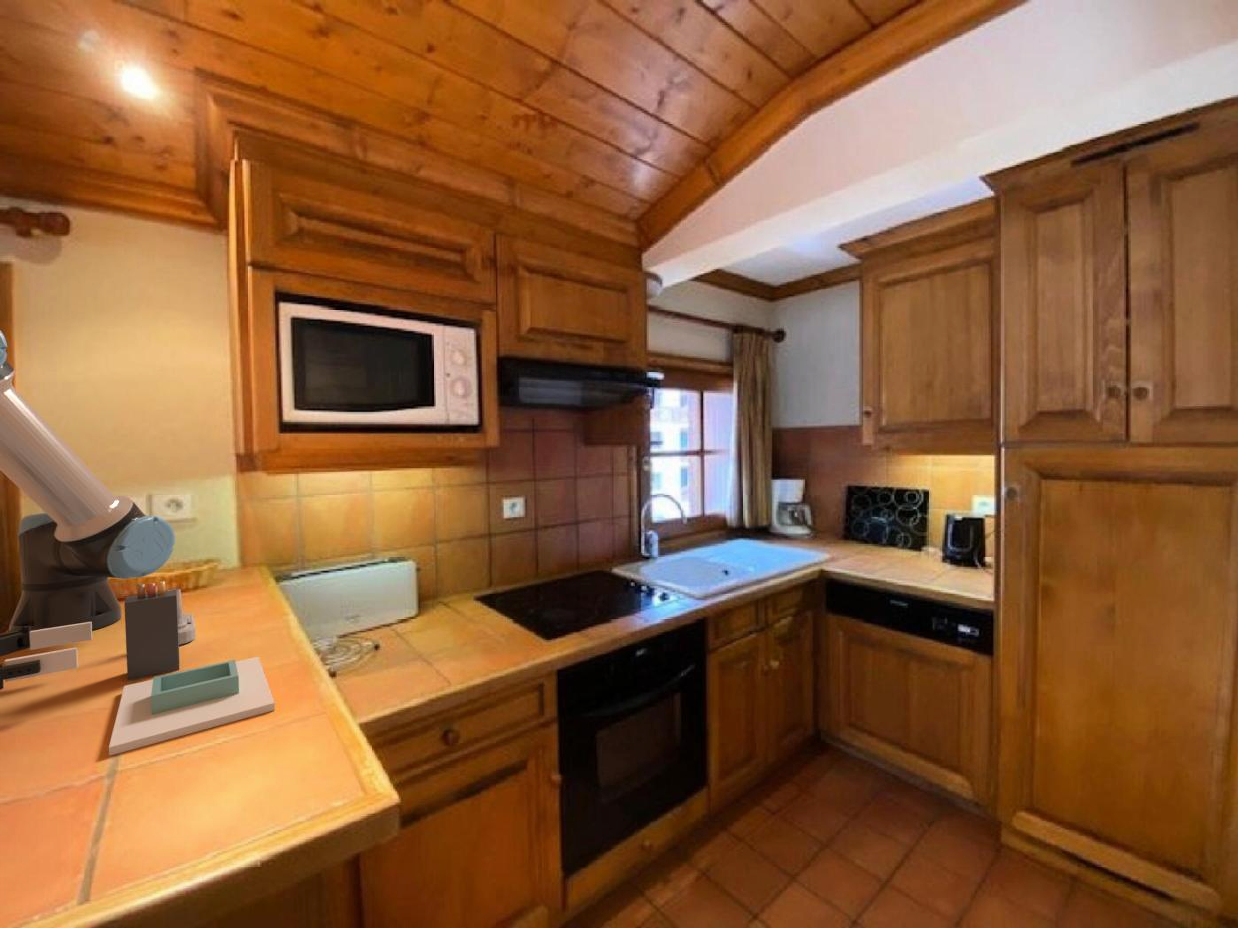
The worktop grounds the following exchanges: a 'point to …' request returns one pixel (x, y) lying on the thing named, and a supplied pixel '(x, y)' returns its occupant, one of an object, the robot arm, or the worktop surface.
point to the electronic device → (184, 623)
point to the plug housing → (151, 632)
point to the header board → (189, 703)
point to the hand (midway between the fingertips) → (85, 643)
